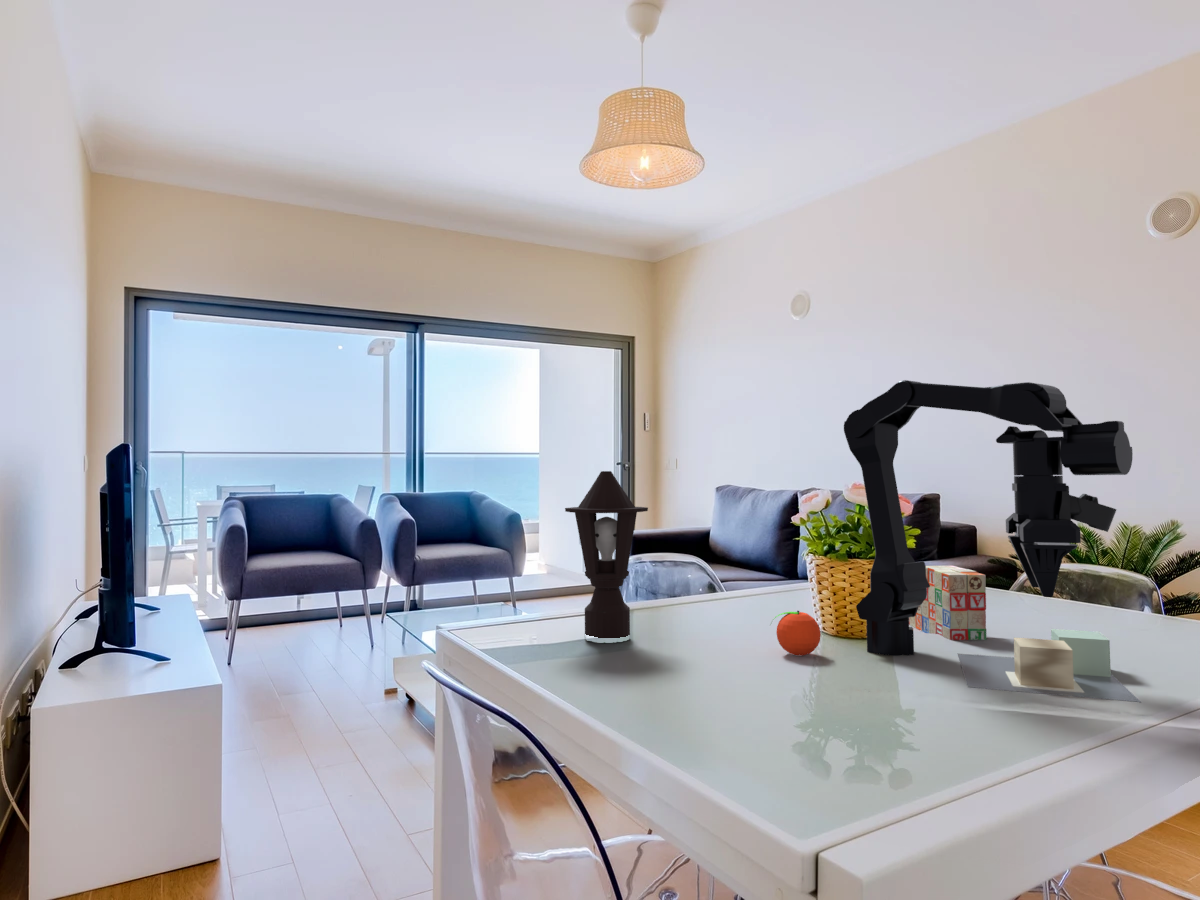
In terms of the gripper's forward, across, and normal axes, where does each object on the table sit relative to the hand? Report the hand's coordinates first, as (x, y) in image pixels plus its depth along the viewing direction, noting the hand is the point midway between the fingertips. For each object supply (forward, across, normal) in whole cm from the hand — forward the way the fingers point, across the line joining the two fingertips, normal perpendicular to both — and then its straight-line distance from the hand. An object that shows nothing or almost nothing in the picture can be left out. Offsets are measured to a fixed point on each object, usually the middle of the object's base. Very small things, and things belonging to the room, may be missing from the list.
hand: (1041, 591), depth 101 cm
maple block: (+12, 0, 0) cm, 12 cm away
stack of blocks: (+13, +35, +11) cm, 39 cm away
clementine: (+13, +9, +34) cm, 37 cm away
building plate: (+13, +4, 0) cm, 13 cm away
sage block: (+12, +9, -6) cm, 16 cm away
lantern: (+13, +10, +67) cm, 69 cm away
